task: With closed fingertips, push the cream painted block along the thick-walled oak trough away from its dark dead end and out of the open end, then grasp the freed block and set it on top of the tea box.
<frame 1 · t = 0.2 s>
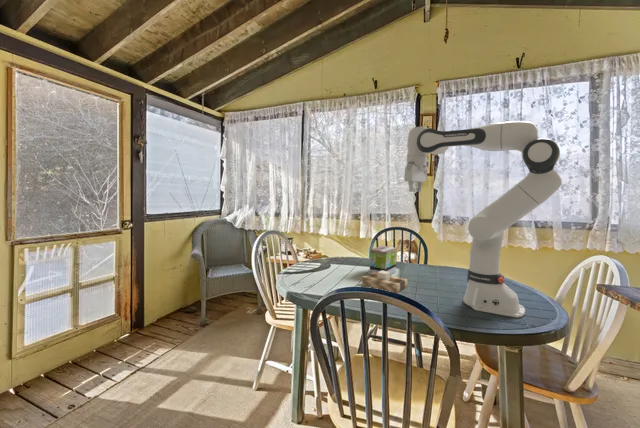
hand: (415, 191, 143), 47 cm above the table, fingers open, 8 cm apart
trough: (384, 285, 150), on the table
block: (383, 285, 150), resting in trough
tea box: (382, 274, 171), on the table
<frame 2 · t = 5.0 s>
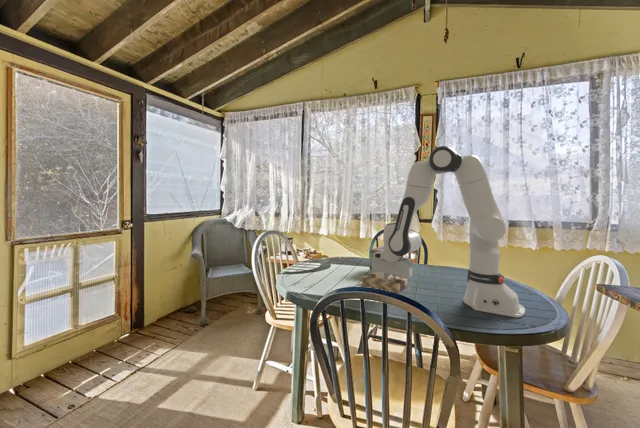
hand: (390, 283, 148), 2 cm above the table, fingers closed
block: (383, 285, 150), resting in trough, tilted 9°, touching gripper
everything else where it was.
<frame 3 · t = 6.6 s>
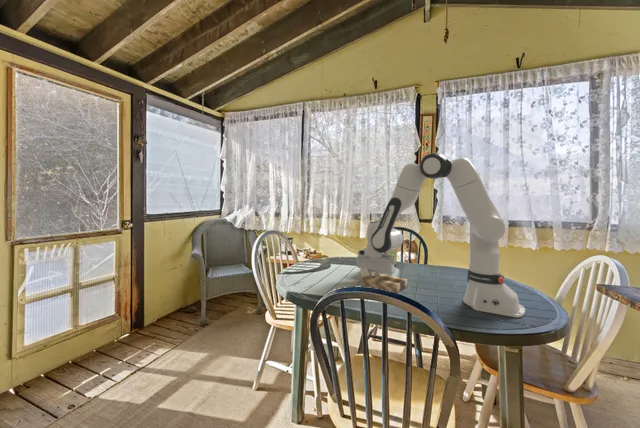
hand: (374, 279, 153), 2 cm above the table, fingers closed
block: (368, 280, 155), point 1 cm above the table, tilted 18°, touching gripper
everything else where it was.
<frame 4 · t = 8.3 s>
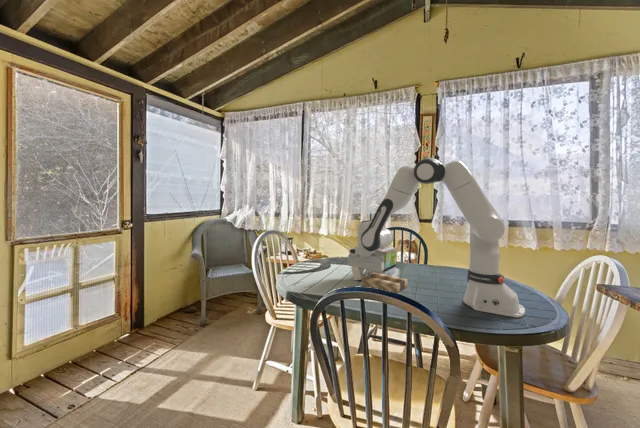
hand: (365, 277, 157), 2 cm above the table, fingers closed
block: (359, 278, 159), point 1 cm above the table, tilted 18°, touching gripper
everything else where it was.
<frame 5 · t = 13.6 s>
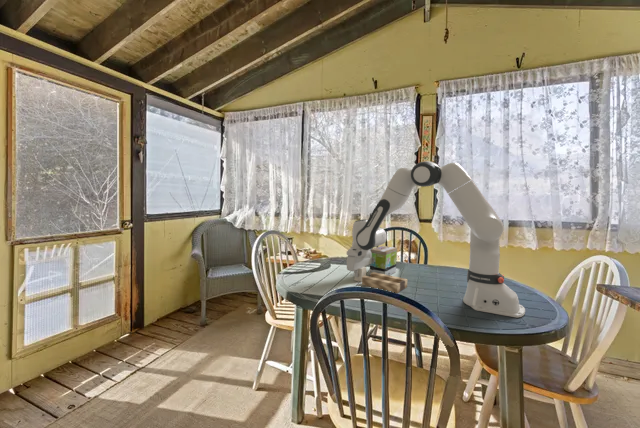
hand: (359, 275, 159), 2 cm above the table, fingers closed on block, 4 cm apart
block: (360, 280, 159), on the table, touching gripper
everything else where it was.
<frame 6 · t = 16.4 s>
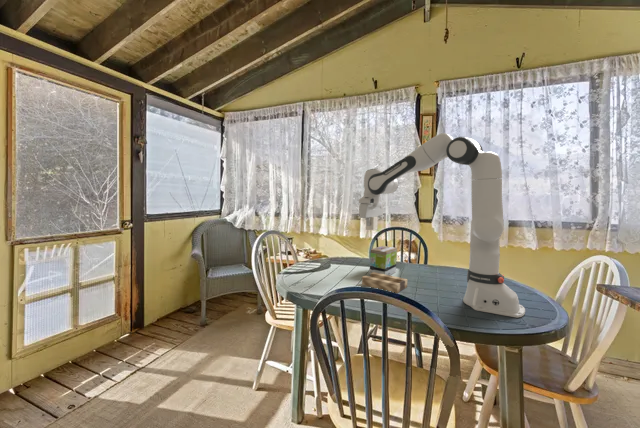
hand: (371, 225, 161), 29 cm above the table, fingers closed on block, 4 cm apart
block: (371, 229, 161), point 26 cm above the table, touching gripper
everything else where it was.
when the fingers open (20 cm above the table, at t = 19.2 s): block drops 2 cm, resting on tea box.
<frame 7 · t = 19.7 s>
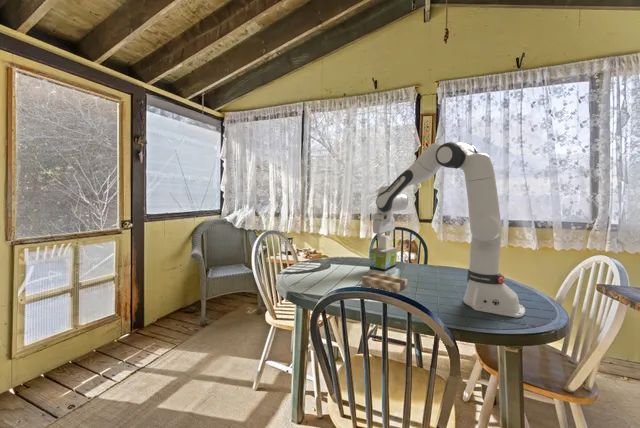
hand: (384, 239, 169), 20 cm above the table, fingers open, 8 cm apart
block: (384, 248, 170), point 15 cm above the table, touching tea box
tea box: (382, 274, 171), on the table, touching block
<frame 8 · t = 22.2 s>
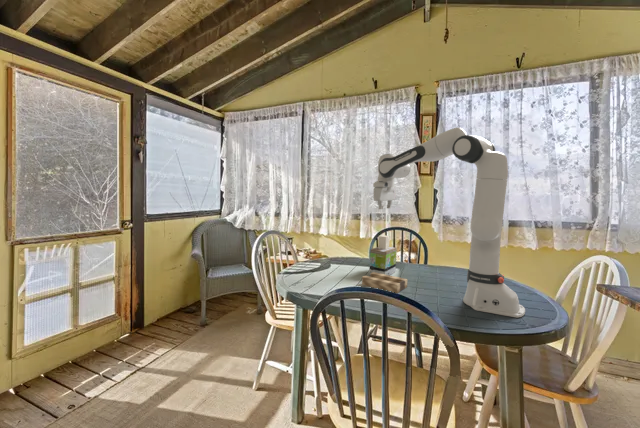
hand: (384, 208, 168), 37 cm above the table, fingers open, 8 cm apart
nothing on the table moved.
at the end: block inside the target area on the tea box (0.2 cm from its centre), point 15.0 cm above the tea box's base; the gripper is holding nothing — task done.
